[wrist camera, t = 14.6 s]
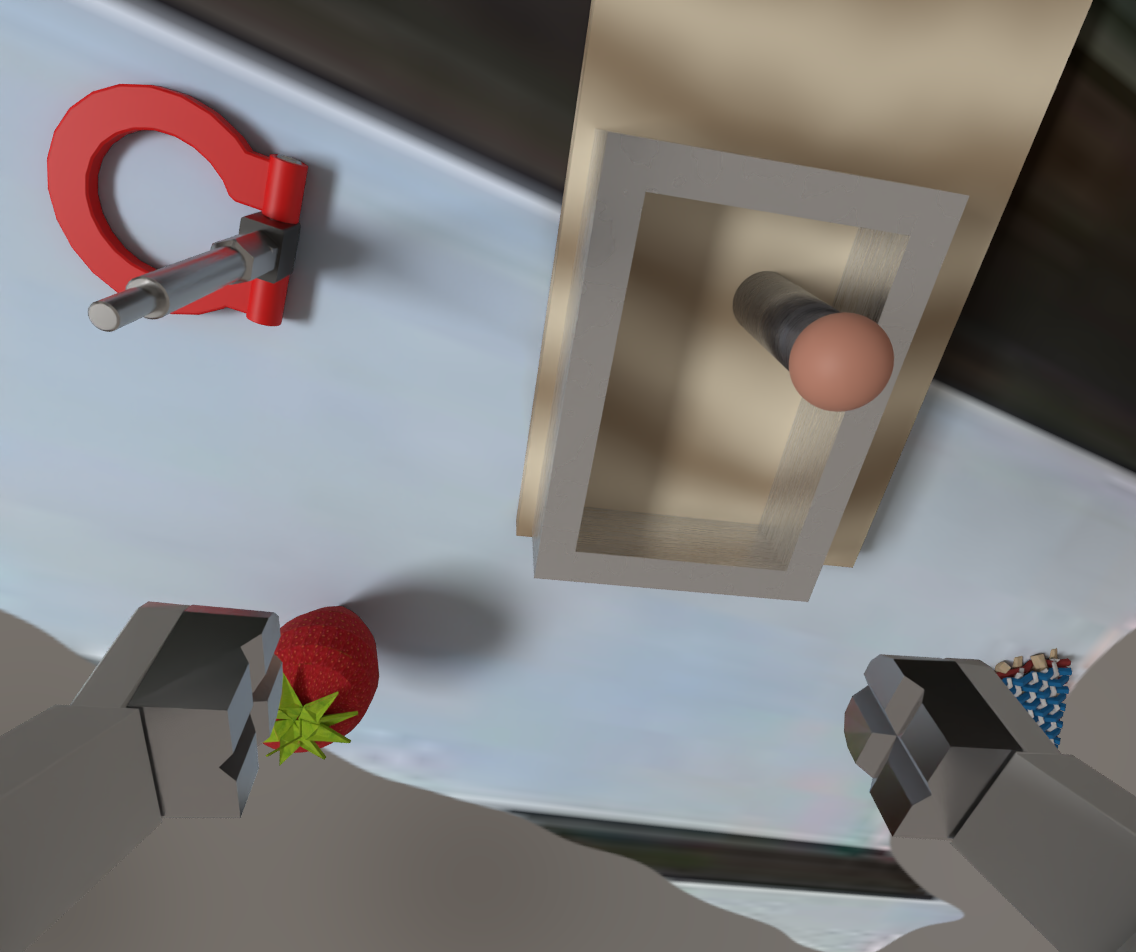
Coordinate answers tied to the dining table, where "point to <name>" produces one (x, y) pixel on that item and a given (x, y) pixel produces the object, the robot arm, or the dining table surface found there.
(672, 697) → the dining table surface
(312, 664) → the strawberry
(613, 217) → the steel link
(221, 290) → the tow hook
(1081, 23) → the board
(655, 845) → the dining table surface
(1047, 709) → the woven mat
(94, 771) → the robot arm
